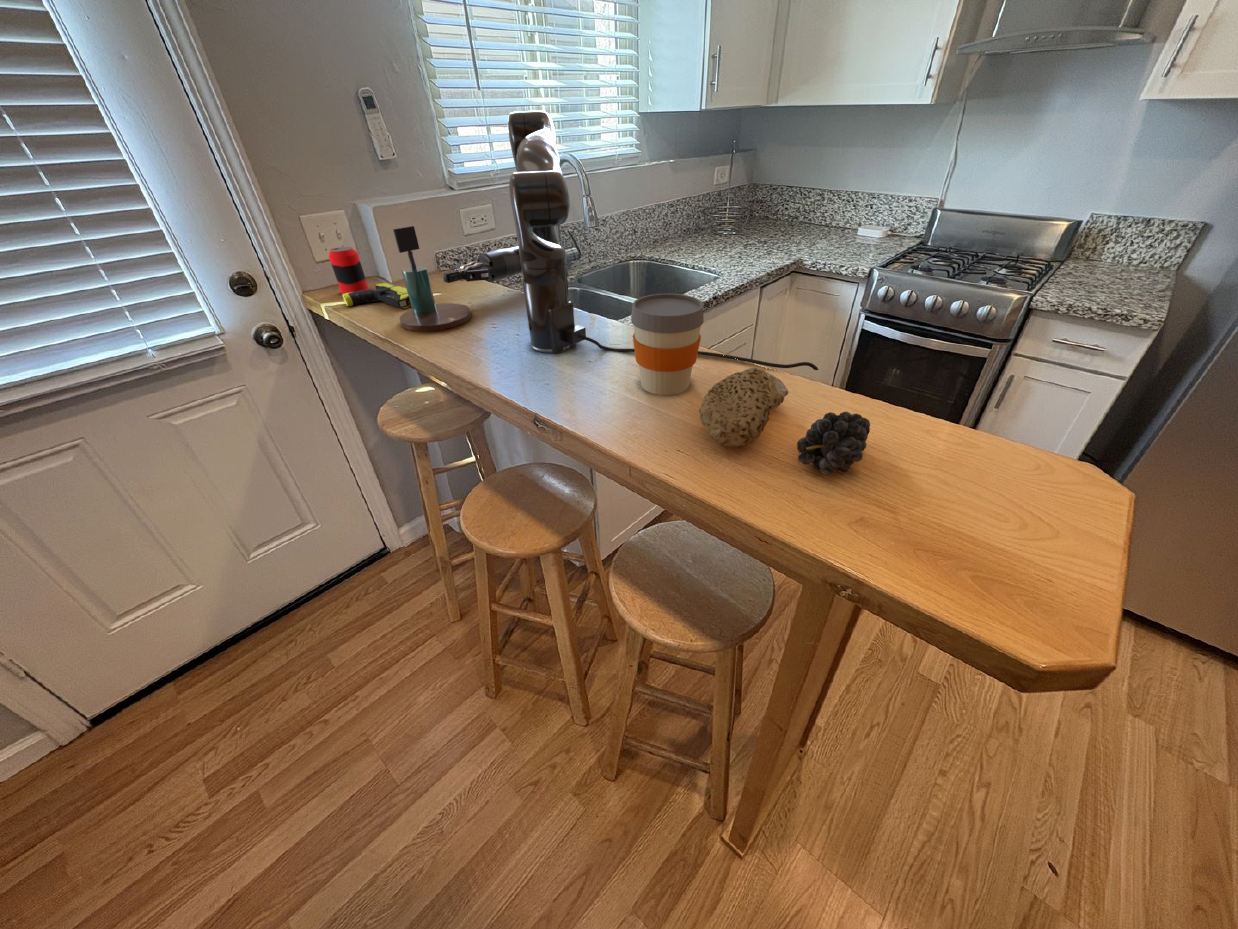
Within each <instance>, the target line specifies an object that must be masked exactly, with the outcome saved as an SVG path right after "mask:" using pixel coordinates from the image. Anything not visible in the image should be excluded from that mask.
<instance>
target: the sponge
mask: <svg viewBox="0 0 1238 929" xmlns="http://www.w3.org/2000/svg"><path fill="white" fill-rule="evenodd" d="M788 394H789V389H788V388H787V387H786V385H785V384H784V382H783V381H782V380H781V379H780V378H778V377H776V376H775V375H773V374H772V373H769V372H767V371H766V370H765V369H763V368H757V367H750V368H747V369H744V370H742V371H737V372H733V373H732V374H731V375H728V376H726V377H725V378H724V379H723V378H722V380H719V381H718V382H717V383H715V384H713V385H712V387H711V388H709V389H708V390H707V393H706V394H705V395H704V397H703V398H702V402H701V404H700V407H699V410H698V412H699V418H700V421H701V422H702V425H703V426H704V427H705V428H706V430H707V432H709V435H710V437H711V438H712V439H713V440H714V441H715V442H717V443H718V444H720V445H721V446H724V447H728V448H740V447H747V446H749V445H751V444H752V443H754V442H755V441H757V439H759V438H760V436H761V434H762V432H763V431H764V430H765V427H766V426H767V424H768V422H769V419H770V415H771V413H772V411H773V410H775V409H776V408H777V407H779V406H781V404H783V403H784V401H785V398H786V397H787V396H788Z"/></svg>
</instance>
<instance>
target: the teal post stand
mask: <svg viewBox="0 0 1238 929" xmlns="http://www.w3.org/2000/svg"><path fill="white" fill-rule="evenodd" d="M392 231H393V235H394V238H395V242H396V246H397V250H398V253H400V254H402V253H406V252H407V257H408V261H409V264H410V266H408V267H404V268H403V269H401V273H402V277H403V281H404V284H405V288H406V289H407V292H408V296H409V299H410V303H411V306H410V307H411V309H408V310H406V311H405V312H404V313H402V314H401V315H400V316H399V322H400V325H401V326H402V327H403V328H405V329H406V330H411V331H418V332H419V331H420V332H427V331H431V332H432V331H438V330H446V329H450V328H454V327H458V326H460V325H462V324H464V323H466V322H467V321H469V320H470V319H471V317H472V311H471V309H470V307H469V306H467V305H465V304H461V303H454V302H442V303H440V302H439V303H436V300H435V296H434V292H433V289H432V283H431V279H430V276H429V273H428V268H427V267H426V266H424V265H423V266H422V265H417V264H416V260H415V255H414V252H413V251H415V250H420V244H419V241H418V236H417V232H416V229H415V226H414V225H411V226H405V227H404V226H403V227H400V228H399V227H397V228H393V229H392Z"/></svg>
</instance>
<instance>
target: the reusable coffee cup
mask: <svg viewBox="0 0 1238 929" xmlns="http://www.w3.org/2000/svg"><path fill="white" fill-rule="evenodd" d="M630 322H631V324H632V326H633V334H632V341H633V349H634V350H635V352H634V357H635V363H637V365H638V369H639V370H638V372H639V377H640V385H641V387H642V389H644V391H646V392H648V393H650V394H653V395H657V396H671V395H673V396H675V395H677V394H681V393H683V392H685V391H687V389H688V388H689V386H690V381H691V380H690V379H691V377H692V371H693V367H694V365H695V364H696V362H697V359H698V351H699V348H700V346H701V340H702V336H701V334H700V333H701V328H702V326H703V324H704V302H703V301H702V300H700V299H698V298H697V297H695V296H691V295H687V294H682V293H653V294H648V295H644V296H641V297H639V298H637V299H635V300H634V301H633V302H632V306H631V317H630Z"/></svg>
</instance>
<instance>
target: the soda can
mask: <svg viewBox="0 0 1238 929" xmlns="http://www.w3.org/2000/svg"><path fill="white" fill-rule="evenodd" d="M328 258H329V262H330V265H331V268H332V270H333V273H334V276H335V279H336V282H337V285H338V287H339V290H340V293H341V295H342V294H345V293H350V292H355V291H359V290H370V288H369V284H368V281H367V279H366V276H365V275H366V274H365V272H364V268H363V266H362V263H361V260H360V256H359V253H358V252H357V251H356V250H355V249H354V248H353V247H351V246H341V247H335V248H331V249H330V251H329V253H328Z"/></svg>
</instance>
